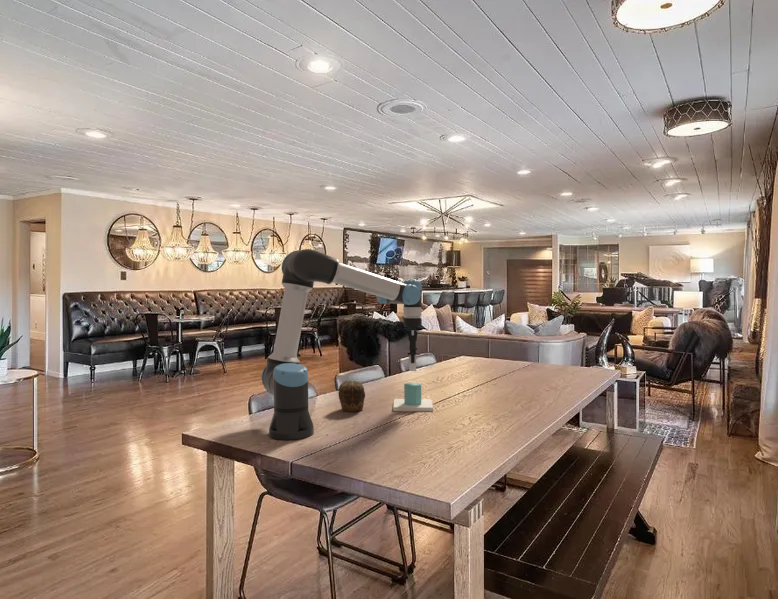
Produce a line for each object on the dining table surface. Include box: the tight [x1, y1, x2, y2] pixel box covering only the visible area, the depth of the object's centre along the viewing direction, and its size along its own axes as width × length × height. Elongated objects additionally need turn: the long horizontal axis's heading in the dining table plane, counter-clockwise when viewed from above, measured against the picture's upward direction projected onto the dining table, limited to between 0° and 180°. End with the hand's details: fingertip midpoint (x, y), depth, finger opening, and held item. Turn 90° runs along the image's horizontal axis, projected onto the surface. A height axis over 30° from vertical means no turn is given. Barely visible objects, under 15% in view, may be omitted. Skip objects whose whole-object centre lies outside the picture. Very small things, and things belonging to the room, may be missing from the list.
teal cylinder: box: [403, 382, 422, 405], centre depth 210 cm, size 7×7×8 cm
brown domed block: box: [338, 380, 366, 413], centre depth 206 cm, size 11×11×12 cm
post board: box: [392, 398, 434, 412], centre depth 211 cm, size 15×16×6 cm
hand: (412, 368), depth 210 cm, fingers open, 13 cm apart
